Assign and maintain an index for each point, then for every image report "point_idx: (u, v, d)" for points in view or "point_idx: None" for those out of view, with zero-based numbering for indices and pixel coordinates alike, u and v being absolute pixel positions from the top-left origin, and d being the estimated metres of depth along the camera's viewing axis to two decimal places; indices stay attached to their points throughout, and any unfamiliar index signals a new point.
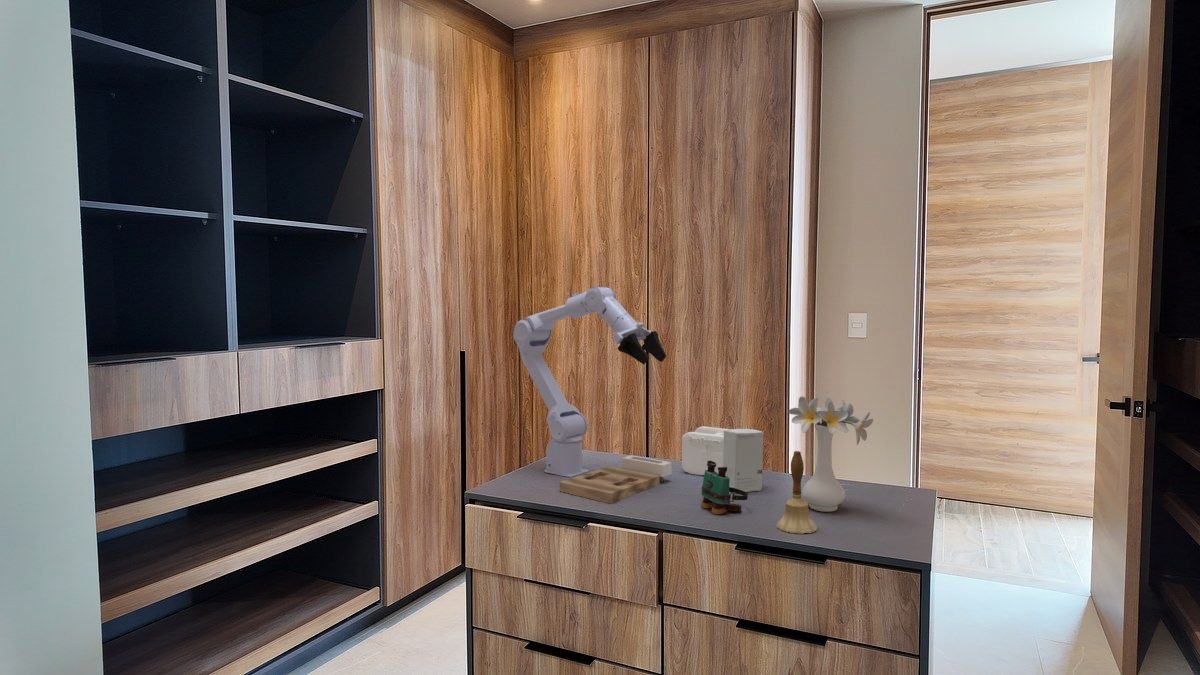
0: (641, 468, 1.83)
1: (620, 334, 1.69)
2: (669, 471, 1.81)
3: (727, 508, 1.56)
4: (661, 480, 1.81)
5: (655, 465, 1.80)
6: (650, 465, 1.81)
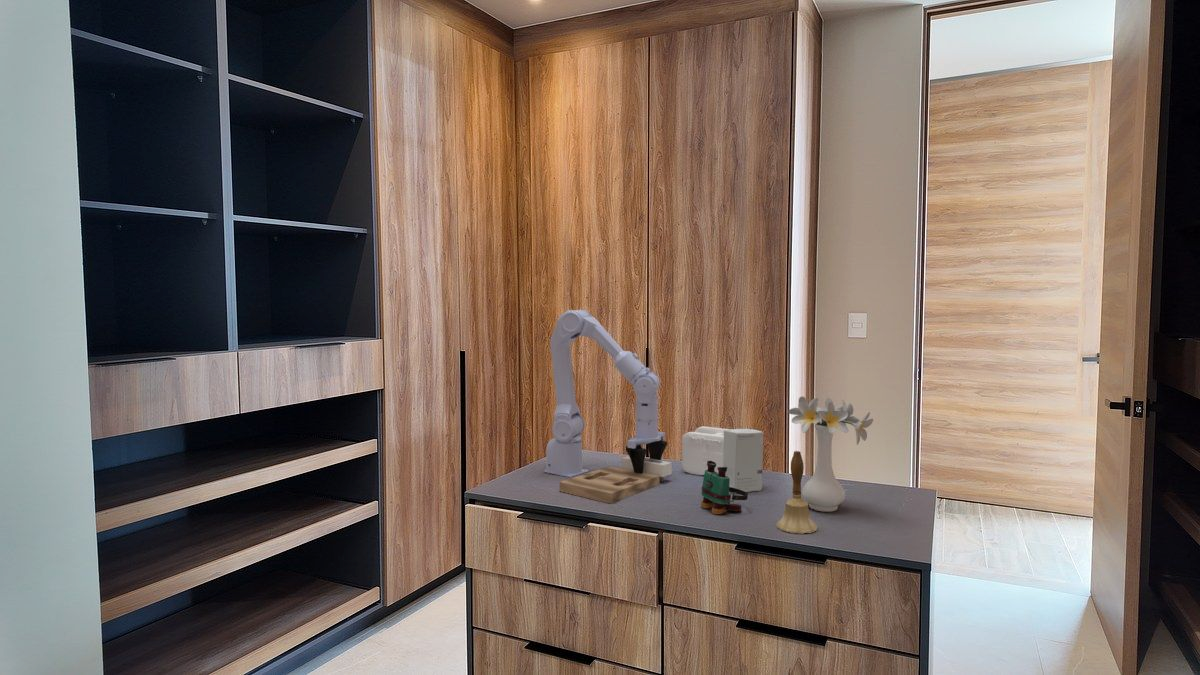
0: None
1: (635, 443, 1.78)
2: (669, 471, 1.81)
3: (727, 508, 1.56)
4: (661, 480, 1.81)
5: (655, 465, 1.80)
6: (650, 465, 1.81)
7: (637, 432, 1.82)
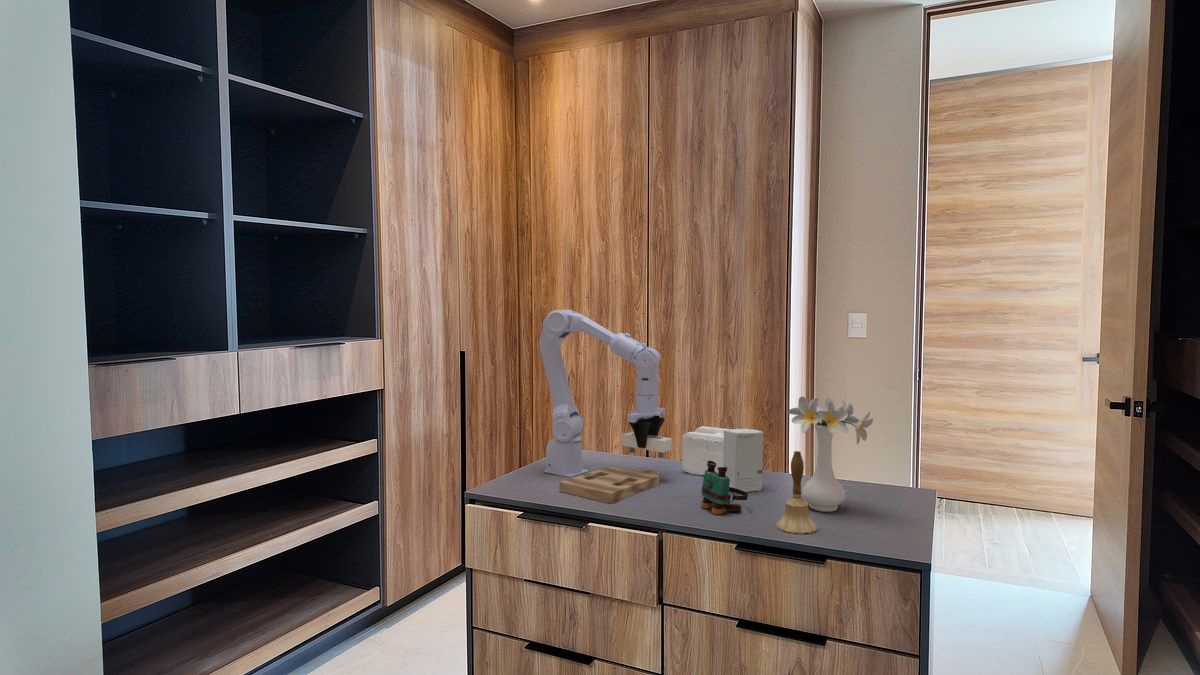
0: None
1: (635, 417, 1.78)
2: (669, 447, 1.80)
3: (727, 508, 1.56)
4: (661, 456, 1.81)
5: (655, 441, 1.80)
6: (650, 441, 1.81)
7: (637, 407, 1.82)
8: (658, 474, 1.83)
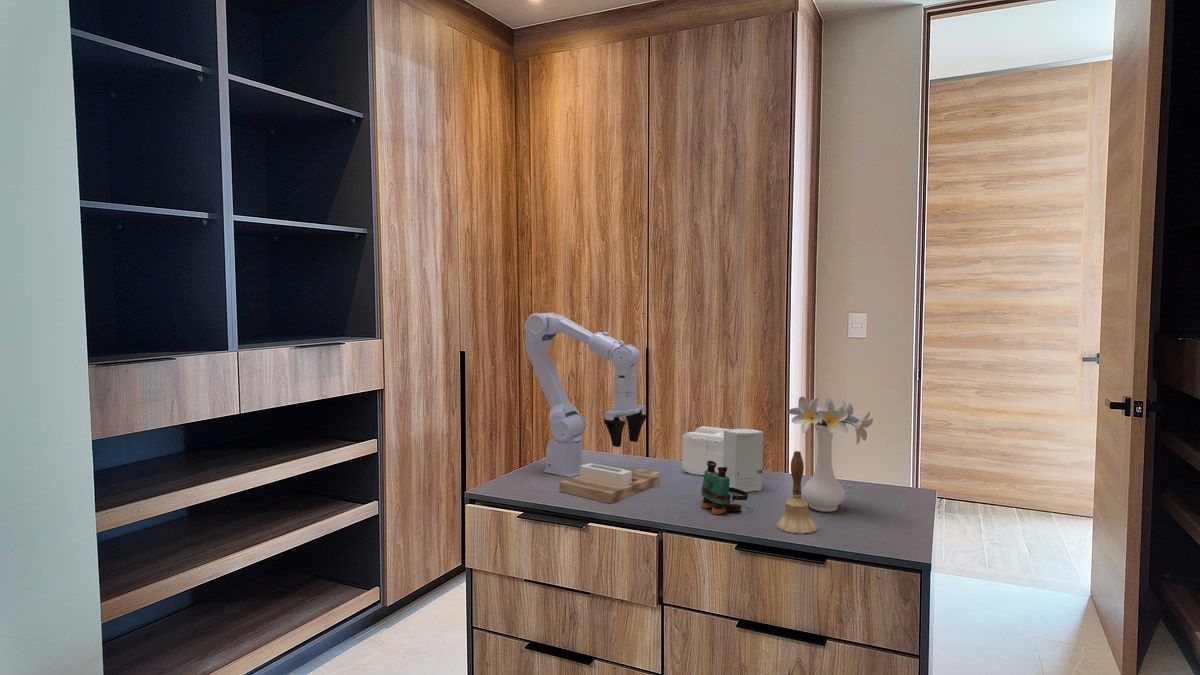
0: (600, 476, 1.72)
1: (613, 415, 1.77)
2: (629, 481, 1.70)
3: (727, 508, 1.56)
4: None
5: (614, 474, 1.69)
6: (609, 474, 1.70)
7: (615, 405, 1.81)
8: (658, 474, 1.83)
